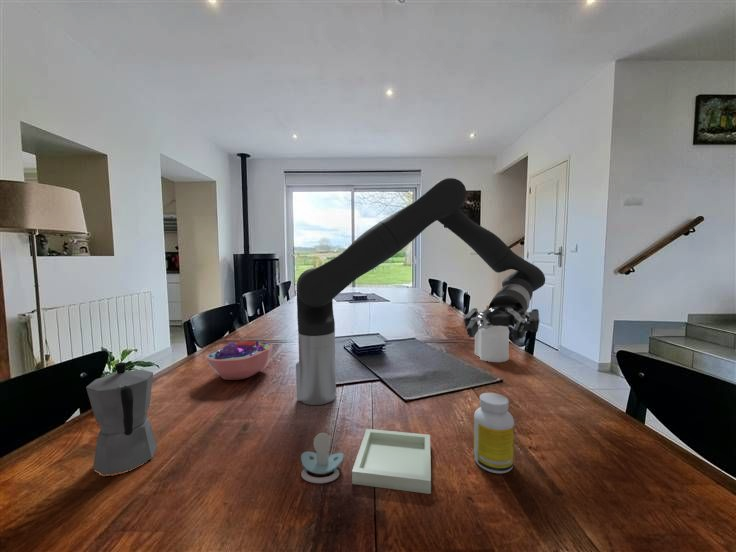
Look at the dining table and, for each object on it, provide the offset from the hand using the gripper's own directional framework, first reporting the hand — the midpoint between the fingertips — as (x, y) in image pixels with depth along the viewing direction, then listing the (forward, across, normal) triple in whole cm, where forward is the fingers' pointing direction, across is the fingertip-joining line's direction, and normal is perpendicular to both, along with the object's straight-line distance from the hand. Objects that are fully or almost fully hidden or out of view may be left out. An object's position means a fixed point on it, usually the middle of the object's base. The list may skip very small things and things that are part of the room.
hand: (492, 334), depth 61 cm
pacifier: (+31, -22, +12) cm, 40 cm away
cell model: (+15, -72, +12) cm, 74 cm away
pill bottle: (+12, +1, +19) cm, 22 cm away
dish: (+22, -13, +15) cm, 30 cm away
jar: (-44, -16, +31) cm, 56 cm away
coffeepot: (+48, -51, +6) cm, 71 cm away
